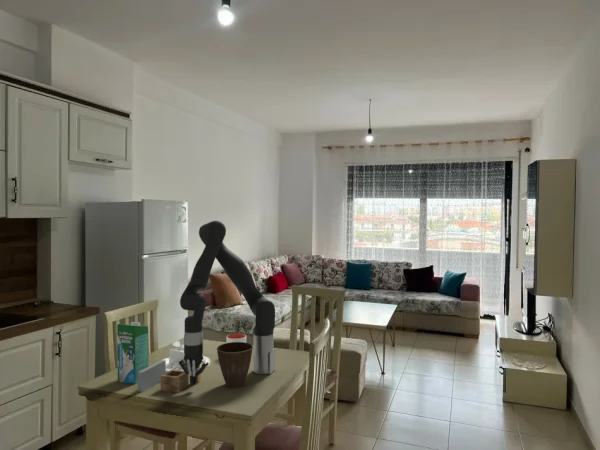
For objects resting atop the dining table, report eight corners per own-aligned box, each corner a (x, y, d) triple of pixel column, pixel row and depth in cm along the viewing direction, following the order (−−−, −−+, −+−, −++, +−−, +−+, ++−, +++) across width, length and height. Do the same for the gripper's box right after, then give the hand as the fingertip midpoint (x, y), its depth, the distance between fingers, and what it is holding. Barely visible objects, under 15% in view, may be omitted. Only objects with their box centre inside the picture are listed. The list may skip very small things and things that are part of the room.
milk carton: (148, 377, 199) (148, 320, 198) (134, 384, 190) (134, 325, 190) (131, 374, 202) (131, 319, 201) (117, 381, 193) (116, 323, 193)
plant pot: (238, 394, 179) (238, 354, 179) (209, 387, 187) (209, 349, 186) (259, 382, 192) (259, 344, 192) (231, 376, 200) (231, 340, 199)
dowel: (201, 380, 194) (201, 353, 194) (198, 383, 191) (198, 355, 191) (195, 380, 195) (195, 352, 195) (192, 382, 192) (191, 354, 192)
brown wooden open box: (188, 385, 189) (188, 371, 188) (177, 392, 181) (177, 377, 181) (172, 383, 191) (172, 369, 191) (160, 390, 183) (160, 375, 183)
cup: (244, 358, 224) (244, 338, 224) (224, 358, 224) (224, 338, 224) (247, 352, 234) (247, 333, 234) (228, 352, 234) (228, 333, 234)
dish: (148, 364, 217) (147, 341, 216) (194, 354, 233) (194, 332, 233) (171, 378, 198) (170, 352, 198) (220, 365, 215) (220, 342, 215)
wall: (165, 378, 197) (165, 360, 197) (142, 392, 182) (141, 372, 181) (161, 378, 197) (161, 360, 197) (137, 391, 182) (137, 372, 182)
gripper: (212, 341, 184) (212, 383, 185) (184, 338, 188) (184, 379, 189) (203, 346, 177) (203, 389, 177) (174, 343, 181) (174, 385, 181)
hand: (193, 384), depth 183 cm, fingers closed
